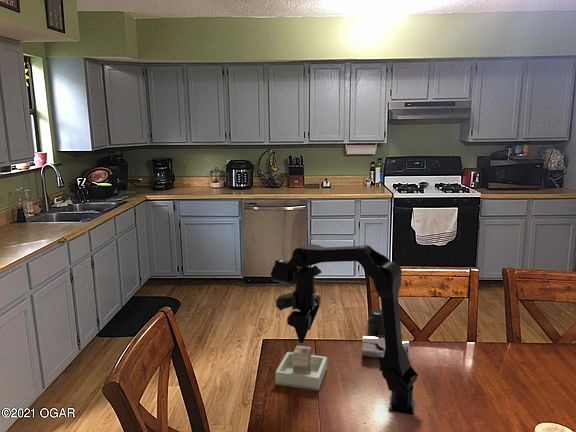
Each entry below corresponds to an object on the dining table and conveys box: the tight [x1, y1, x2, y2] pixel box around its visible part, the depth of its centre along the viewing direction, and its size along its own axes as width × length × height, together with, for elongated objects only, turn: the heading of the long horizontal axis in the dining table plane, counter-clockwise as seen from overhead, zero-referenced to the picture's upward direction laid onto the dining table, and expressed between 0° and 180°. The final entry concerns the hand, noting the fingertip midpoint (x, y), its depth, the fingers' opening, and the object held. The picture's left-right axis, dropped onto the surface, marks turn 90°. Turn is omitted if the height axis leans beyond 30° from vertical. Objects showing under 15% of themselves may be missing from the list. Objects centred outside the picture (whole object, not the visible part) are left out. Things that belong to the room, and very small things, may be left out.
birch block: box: [292, 345, 312, 375], centre depth 146 cm, size 4×4×8 cm
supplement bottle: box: [366, 308, 384, 337], centre depth 167 cm, size 7×7×12 cm
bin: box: [274, 351, 328, 391], centre depth 147 cm, size 13×13×4 cm
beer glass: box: [361, 334, 410, 359], centre depth 159 cm, size 7×7×15 cm
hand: (304, 336), depth 145 cm, fingers open, 9 cm apart
